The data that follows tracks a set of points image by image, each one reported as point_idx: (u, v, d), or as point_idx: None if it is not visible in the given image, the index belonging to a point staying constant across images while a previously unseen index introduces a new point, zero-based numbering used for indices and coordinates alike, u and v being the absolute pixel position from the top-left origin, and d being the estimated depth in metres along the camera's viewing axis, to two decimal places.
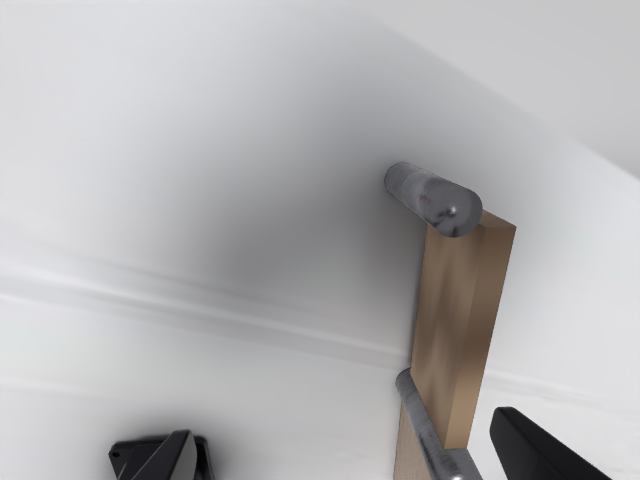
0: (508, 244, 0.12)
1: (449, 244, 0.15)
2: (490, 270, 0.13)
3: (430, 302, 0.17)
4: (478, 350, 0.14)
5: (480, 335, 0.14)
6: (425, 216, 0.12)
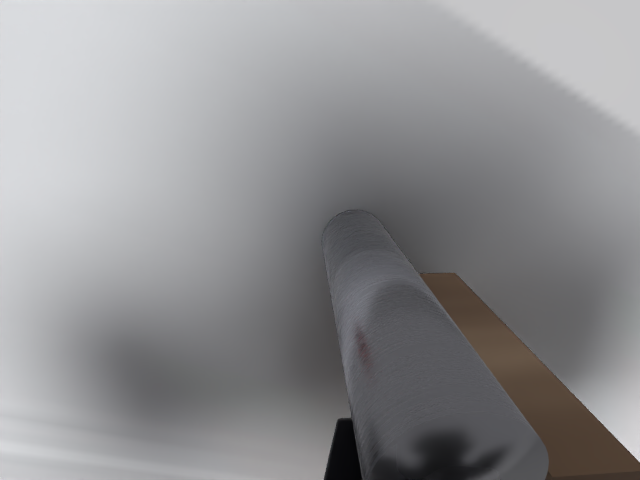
0: None
1: None
2: None
3: None
4: None
5: None
6: None
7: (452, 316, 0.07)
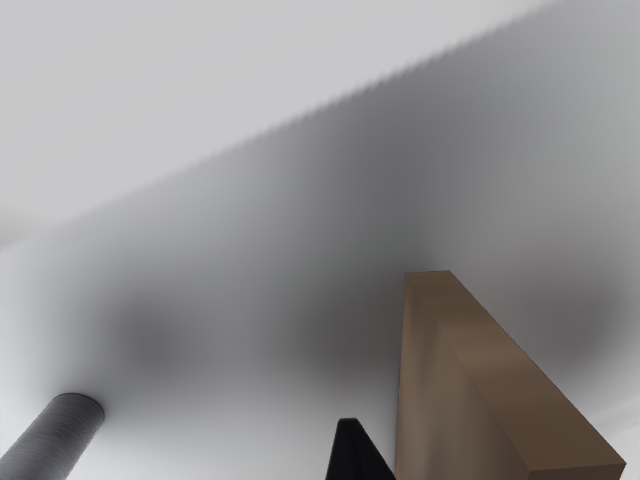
0: None
1: (437, 400, 0.07)
2: None
3: (412, 469, 0.09)
4: None
5: None
6: None
7: (443, 314, 0.07)
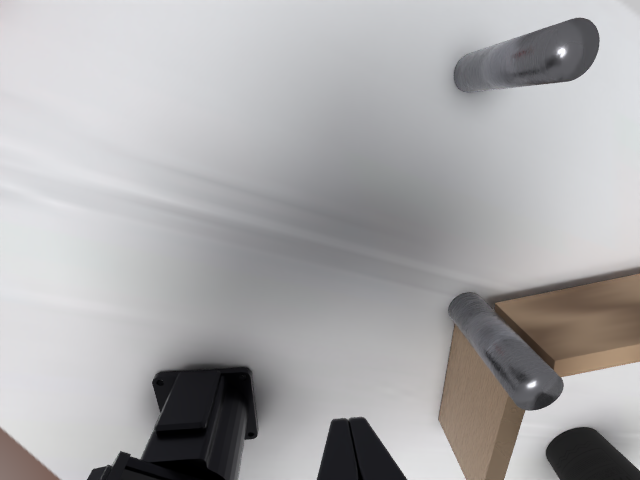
0: None
1: None
2: None
3: (616, 296, 0.19)
4: None
5: None
6: (529, 63, 0.11)
7: None
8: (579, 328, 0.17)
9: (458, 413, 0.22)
